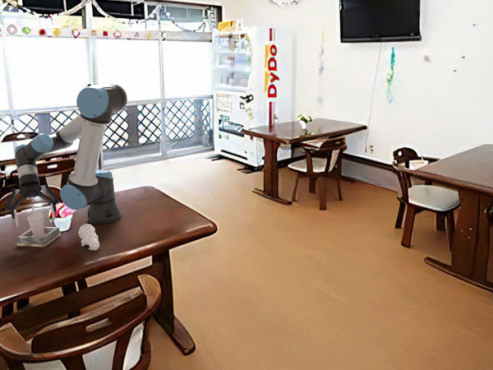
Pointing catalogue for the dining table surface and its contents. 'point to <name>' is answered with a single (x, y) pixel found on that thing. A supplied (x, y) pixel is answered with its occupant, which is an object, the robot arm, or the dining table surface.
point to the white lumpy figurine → (89, 236)
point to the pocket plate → (30, 240)
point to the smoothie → (36, 224)
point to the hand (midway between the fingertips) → (36, 222)
